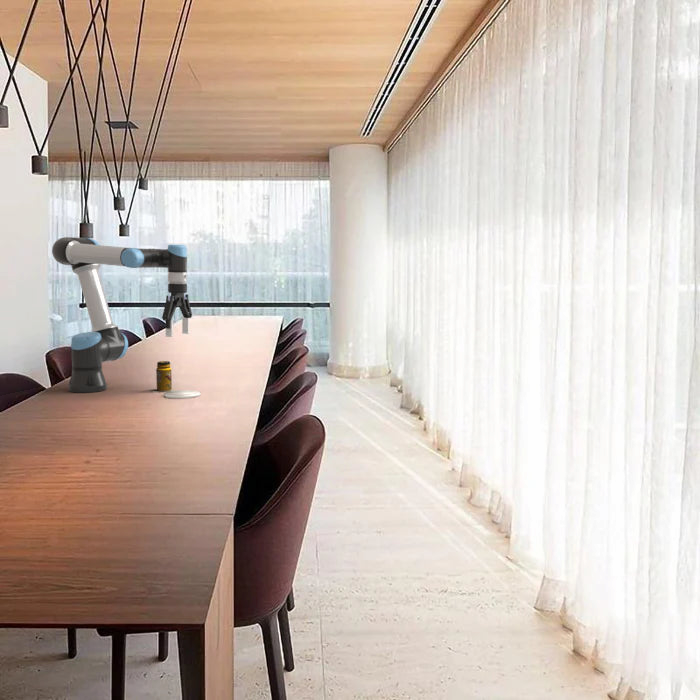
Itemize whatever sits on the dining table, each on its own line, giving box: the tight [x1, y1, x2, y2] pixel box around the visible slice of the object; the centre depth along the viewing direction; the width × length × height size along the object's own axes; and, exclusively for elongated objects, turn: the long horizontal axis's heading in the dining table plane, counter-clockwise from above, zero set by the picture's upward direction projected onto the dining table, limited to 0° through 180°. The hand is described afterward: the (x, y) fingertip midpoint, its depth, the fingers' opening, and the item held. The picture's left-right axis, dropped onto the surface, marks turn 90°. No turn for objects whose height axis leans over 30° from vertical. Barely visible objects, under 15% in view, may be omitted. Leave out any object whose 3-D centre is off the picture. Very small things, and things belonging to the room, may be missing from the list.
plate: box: [163, 389, 201, 400], centre depth 310 cm, size 14×14×1 cm
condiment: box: [149, 360, 176, 394], centre depth 321 cm, size 7×8×12 cm
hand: (177, 335), depth 319 cm, fingers open, 13 cm apart
